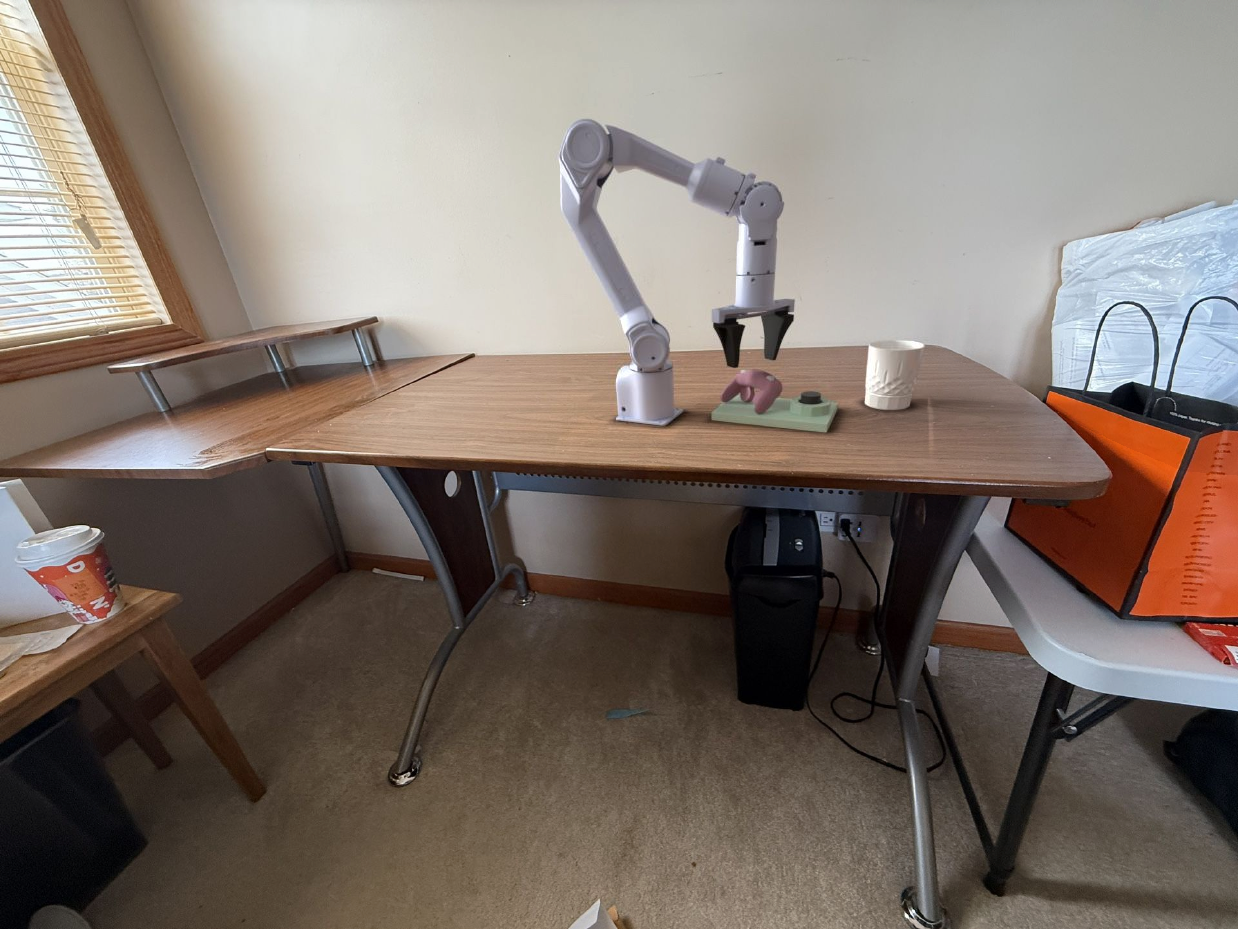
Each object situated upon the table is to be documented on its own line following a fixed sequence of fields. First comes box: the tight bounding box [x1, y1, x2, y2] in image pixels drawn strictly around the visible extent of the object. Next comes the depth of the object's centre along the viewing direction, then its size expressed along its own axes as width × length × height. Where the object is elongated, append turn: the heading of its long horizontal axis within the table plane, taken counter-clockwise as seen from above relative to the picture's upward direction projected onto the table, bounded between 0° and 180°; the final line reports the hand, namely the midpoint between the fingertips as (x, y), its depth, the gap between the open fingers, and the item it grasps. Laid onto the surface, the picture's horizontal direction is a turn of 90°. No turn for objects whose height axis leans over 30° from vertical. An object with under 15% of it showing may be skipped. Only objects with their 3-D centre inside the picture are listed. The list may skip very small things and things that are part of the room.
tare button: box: [800, 390, 822, 405], centre depth 76 cm, size 3×3×2 cm
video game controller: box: [720, 368, 783, 414], centre depth 80 cm, size 10×5×7 cm, turn 29°
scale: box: [711, 394, 839, 433], centre depth 79 cm, size 18×11×3 cm, turn 60°
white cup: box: [864, 339, 926, 411], centre depth 79 cm, size 8×8×10 cm
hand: (751, 362), depth 78 cm, fingers open, 7 cm apart
